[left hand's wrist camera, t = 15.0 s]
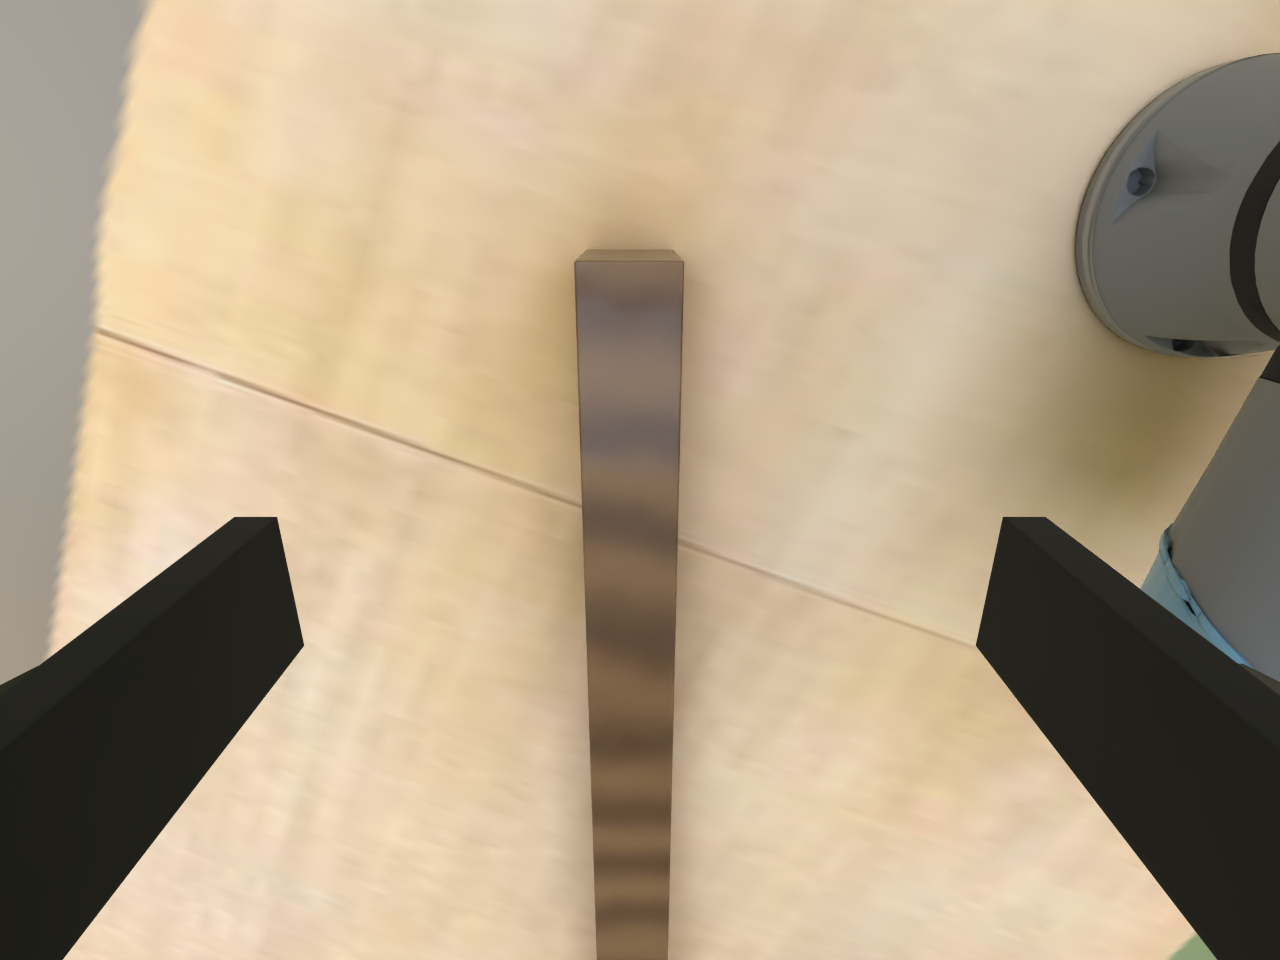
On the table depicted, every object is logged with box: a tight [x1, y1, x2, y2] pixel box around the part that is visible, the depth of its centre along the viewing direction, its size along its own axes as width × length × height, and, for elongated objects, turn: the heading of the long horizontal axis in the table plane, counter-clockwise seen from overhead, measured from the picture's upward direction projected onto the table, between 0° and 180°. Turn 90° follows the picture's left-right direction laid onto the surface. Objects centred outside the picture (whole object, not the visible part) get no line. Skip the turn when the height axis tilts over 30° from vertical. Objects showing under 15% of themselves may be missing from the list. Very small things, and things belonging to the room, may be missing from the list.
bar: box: [574, 250, 684, 960], centre depth 47 cm, size 64×5×8 cm, turn 0°
